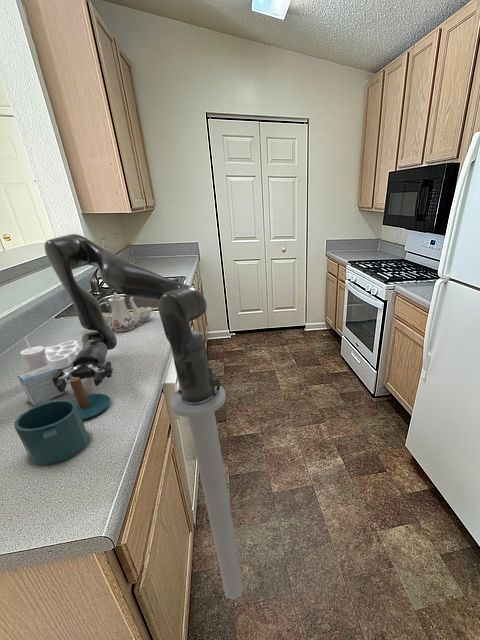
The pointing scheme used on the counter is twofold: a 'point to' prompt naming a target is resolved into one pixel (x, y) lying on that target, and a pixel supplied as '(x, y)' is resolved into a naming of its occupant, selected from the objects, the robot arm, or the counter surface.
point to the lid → (88, 400)
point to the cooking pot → (52, 431)
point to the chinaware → (125, 314)
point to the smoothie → (34, 356)
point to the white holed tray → (62, 354)
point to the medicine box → (39, 385)
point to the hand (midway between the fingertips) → (78, 385)
